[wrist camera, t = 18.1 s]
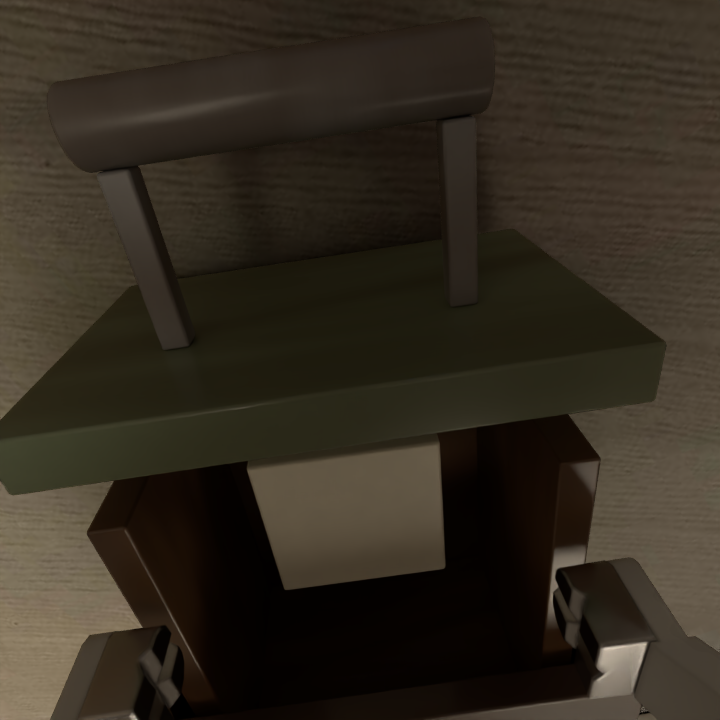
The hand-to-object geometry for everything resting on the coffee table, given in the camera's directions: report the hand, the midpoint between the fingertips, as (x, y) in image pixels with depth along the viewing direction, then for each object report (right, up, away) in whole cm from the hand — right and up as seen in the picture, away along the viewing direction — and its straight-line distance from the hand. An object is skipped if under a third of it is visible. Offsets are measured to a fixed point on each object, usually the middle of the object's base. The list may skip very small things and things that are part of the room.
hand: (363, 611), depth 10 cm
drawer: (-1, +5, +6) cm, 8 cm away
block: (-1, +3, +6) cm, 7 cm away
